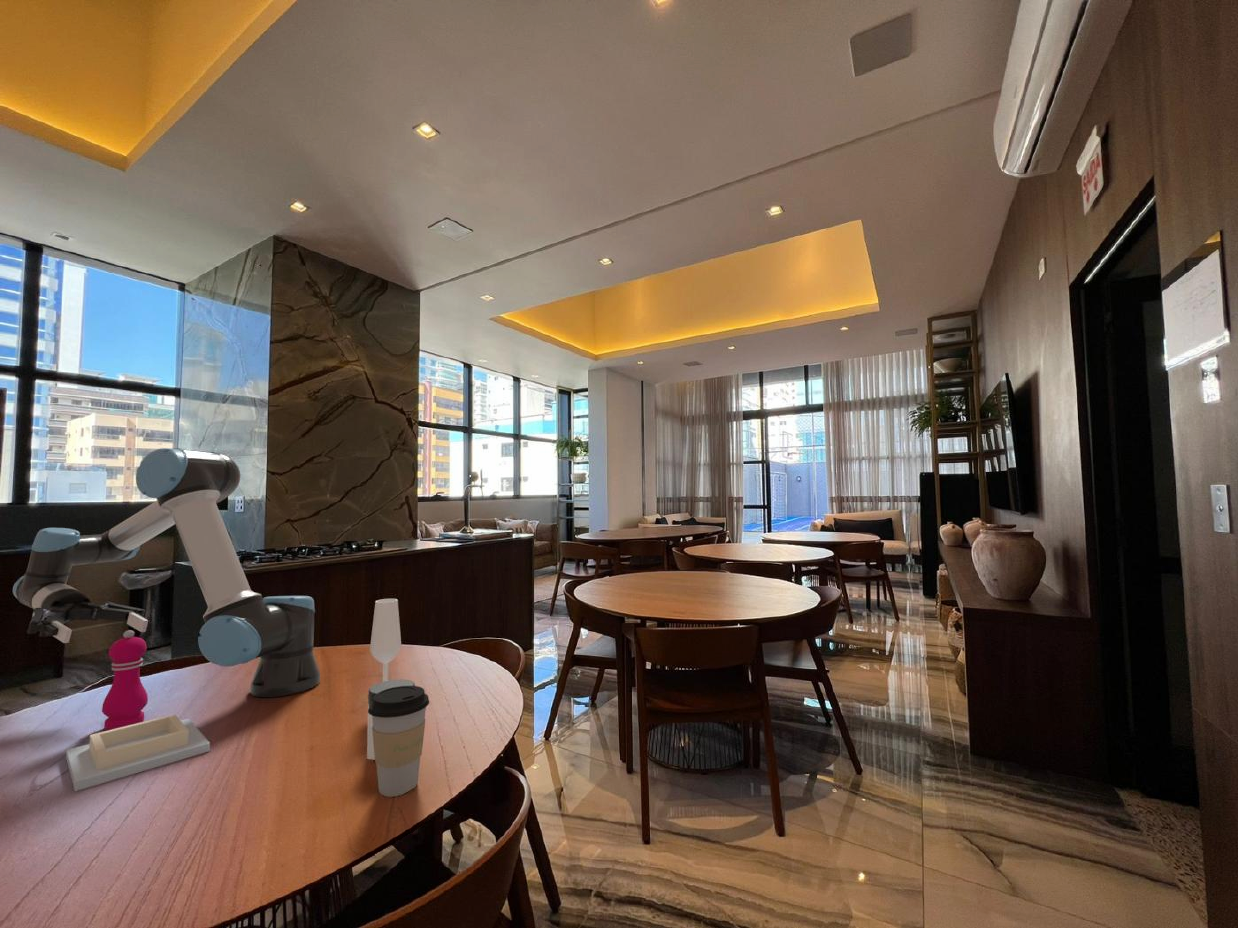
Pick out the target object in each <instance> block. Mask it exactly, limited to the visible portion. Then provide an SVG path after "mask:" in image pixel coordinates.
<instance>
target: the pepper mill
mask: <svg viewBox="0 0 1238 928" xmlns="http://www.w3.org/2000/svg"><path fill="white" fill-rule="evenodd" d="M122 636H123V637H122V638H120V639H118V640H116V641H115V642H114V643H112V645H110V646H109V647H110V648H109V650H108V655H109V658H110V660H112V662H111V671H113V681H112V684H111V687H110V688H109V690H108V692H107V695H106V696H105V698H104V701H103V703H102V708H101V712H102V714H103V715H104V716H105V717H107V718H106V719H105V720H104V723H103V724H104V725H103V727H104V728H103V729H104V731H108V730H112V729H116V728H120V727H124V726H128V725H132V724H137V723H141V722H145V712H144V711H142V710H144V708H145V707H146V706H147V704H148V701H149V700H148V698H149V697H148V693H147V691H146V689H145V687H144V685H143V683H142V680H141V676H140V675H141V674H140V671H141V666H143V660H144V658H142V657H143V655H144V654H146V652H147V649H148V647H147V642H146V641H145V639H143V638H141V637H139V636H138V637H137V636H135V631H134V630H131V629H128V630H125V631H124V632H123V634H122Z"/></svg>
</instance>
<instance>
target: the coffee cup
mask: <svg viewBox="0 0 1238 928" xmlns="http://www.w3.org/2000/svg"><path fill="white" fill-rule="evenodd" d="M429 704H430V700H429V695H428V694H426V692H425V689H424V688H423V687H421V686H418V685H415V686H399V687H393V688H389V689H386V690H383V691H381V692H379V693H377V694H376V695H375V696H374V698H373V701H372V702H371V703H370V705H369V704H368V707H369V709H368V708H367V714H368V713H369V714H370V715H372V720H373V726H372V732H373V743H374V754H375V761H374V763H375V764H376V774H377V775H376V776H377V783H378V784H377V786H378V793H379V794H380V795H381V796H383V795H384V796H383V797H389V798H390V797H391V798H392V797H393V796H395V797H399V796H398V795H400V796H403V795H405V794H404V793H406V792H408V791H410V790H411V789H412V788H414V787H415V786H416V785H417V786H418V781H419V772H420V764H421V756H422V754H423V746H424V745H423V744H424V738H425V737H424V736H425V735H424V734H425V728H426V709H427V707H428V706H429ZM417 786H416V787H417ZM416 787H415V788H416ZM415 788H414V789H415ZM411 791H412V790H411ZM411 791H410V792H411ZM408 793H409V792H408ZM402 794H403V795H402ZM406 794H407V793H406ZM393 798H394V797H393Z"/></svg>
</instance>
